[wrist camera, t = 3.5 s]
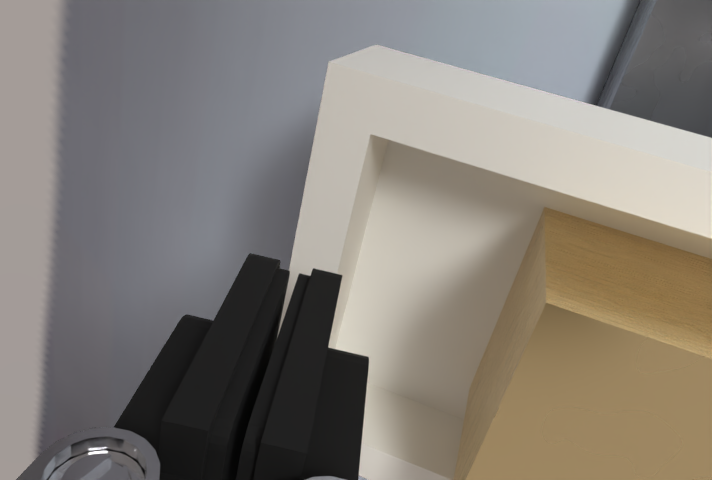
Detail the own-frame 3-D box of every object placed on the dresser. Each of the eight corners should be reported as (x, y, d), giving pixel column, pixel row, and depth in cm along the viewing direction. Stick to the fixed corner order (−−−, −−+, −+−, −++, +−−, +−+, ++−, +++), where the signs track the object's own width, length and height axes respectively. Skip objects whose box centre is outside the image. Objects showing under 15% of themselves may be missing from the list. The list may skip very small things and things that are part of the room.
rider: (544, 206, 12) (546, 302, 8) (803, 287, 11) (930, 433, 7) (469, 388, 14) (445, 523, 10) (679, 466, 13) (729, 641, 10)
